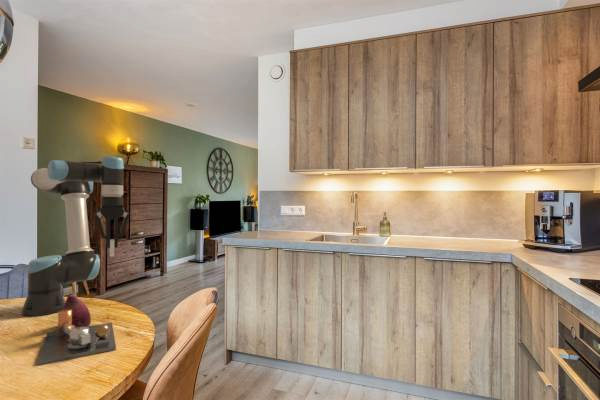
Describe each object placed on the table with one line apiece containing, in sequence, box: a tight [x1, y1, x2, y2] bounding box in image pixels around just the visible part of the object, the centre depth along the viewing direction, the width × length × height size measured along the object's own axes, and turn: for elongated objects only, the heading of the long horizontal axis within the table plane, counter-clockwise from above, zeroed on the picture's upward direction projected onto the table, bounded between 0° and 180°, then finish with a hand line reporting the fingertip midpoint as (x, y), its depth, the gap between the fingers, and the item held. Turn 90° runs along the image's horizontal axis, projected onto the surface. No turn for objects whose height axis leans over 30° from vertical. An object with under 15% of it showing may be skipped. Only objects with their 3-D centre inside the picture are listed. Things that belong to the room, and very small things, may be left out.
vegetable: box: [62, 292, 92, 328], centre depth 129 cm, size 10×10×15 cm
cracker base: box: [37, 322, 117, 366], centre depth 115 cm, size 25×20×7 cm
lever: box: [57, 309, 90, 345], centre depth 113 cm, size 22×5×7 cm, turn 51°
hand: (111, 256), depth 133 cm, fingers closed
